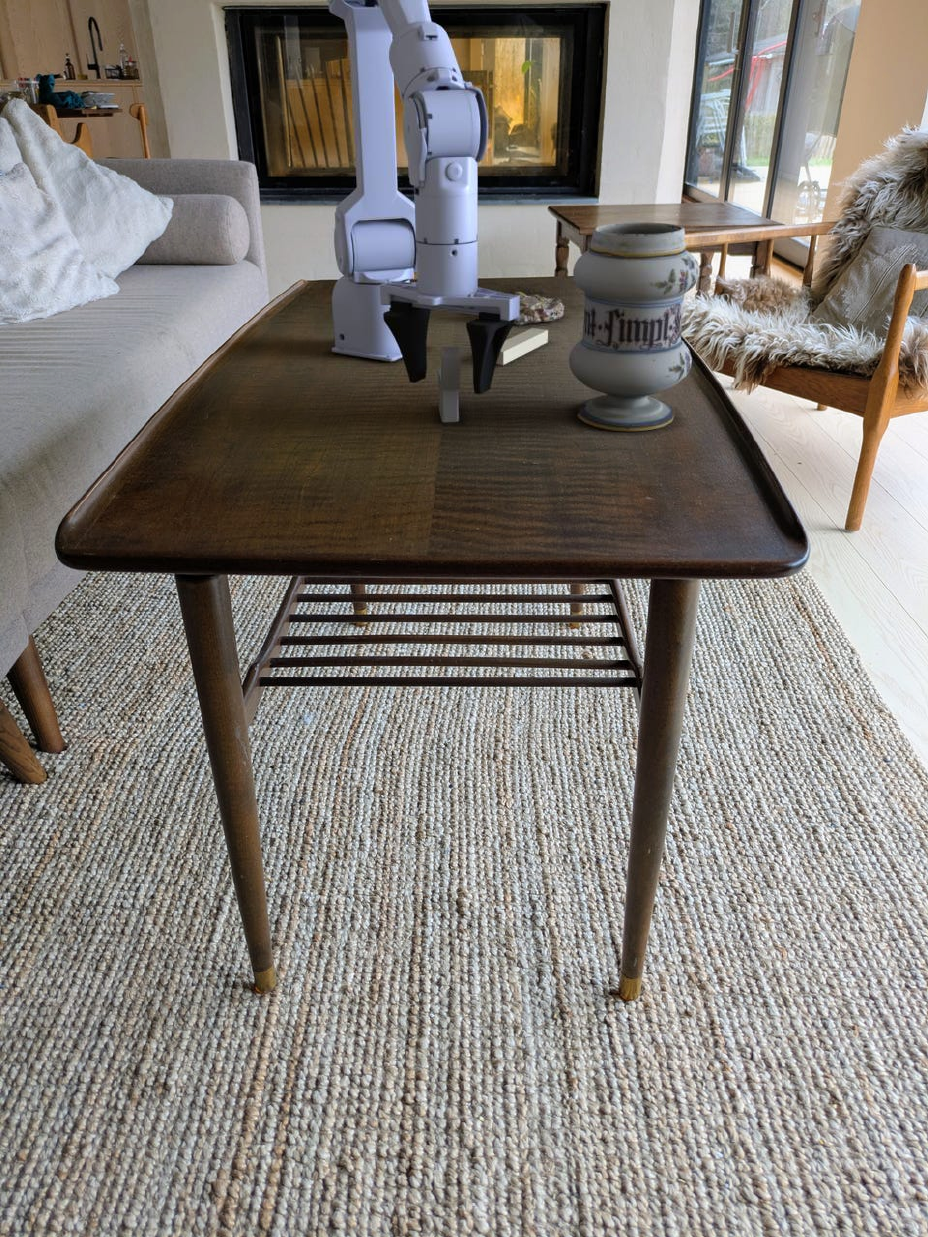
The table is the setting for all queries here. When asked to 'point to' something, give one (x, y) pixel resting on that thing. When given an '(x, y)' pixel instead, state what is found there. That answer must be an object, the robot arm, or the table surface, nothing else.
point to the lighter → (449, 384)
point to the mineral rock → (538, 309)
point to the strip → (522, 344)
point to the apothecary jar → (632, 323)
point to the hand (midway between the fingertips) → (449, 385)
